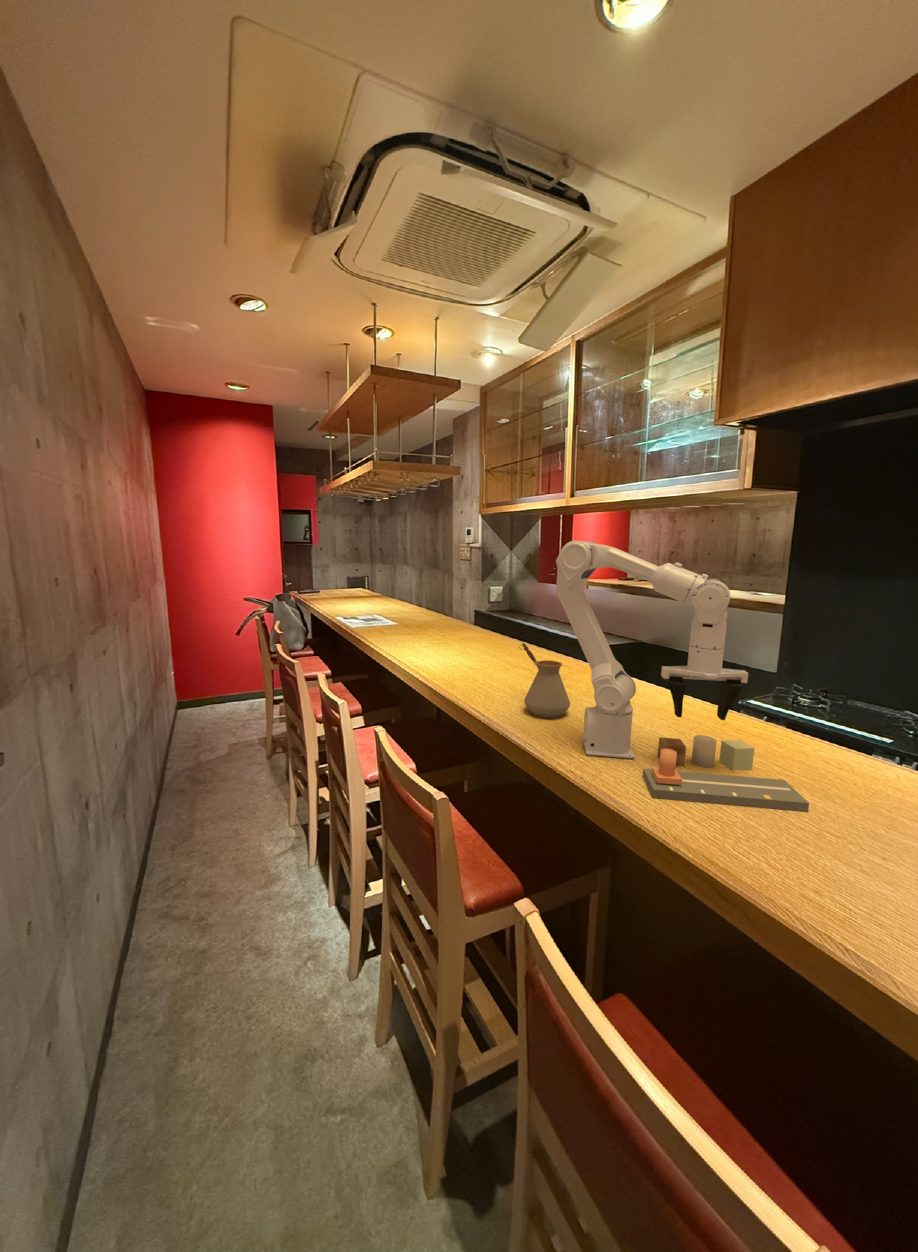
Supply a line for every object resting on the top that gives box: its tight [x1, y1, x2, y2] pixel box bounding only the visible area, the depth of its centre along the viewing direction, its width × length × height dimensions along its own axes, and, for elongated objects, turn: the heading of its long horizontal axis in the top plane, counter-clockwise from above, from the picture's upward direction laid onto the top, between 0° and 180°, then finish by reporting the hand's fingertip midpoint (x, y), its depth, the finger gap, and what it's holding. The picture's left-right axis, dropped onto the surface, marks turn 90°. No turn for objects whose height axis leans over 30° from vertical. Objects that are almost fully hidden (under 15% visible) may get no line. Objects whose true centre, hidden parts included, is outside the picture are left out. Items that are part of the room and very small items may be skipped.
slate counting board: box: [642, 767, 810, 813], centre depth 84 cm, size 24×8×2 cm, turn 81°
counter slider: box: [651, 749, 682, 785], centre depth 85 cm, size 4×4×5 cm
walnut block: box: [657, 737, 687, 767], centre depth 97 cm, size 4×4×4 cm
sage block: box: [718, 739, 755, 772], centre depth 95 cm, size 4×4×4 cm
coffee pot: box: [518, 642, 571, 719], centre depth 127 cm, size 21×12×15 cm, turn 18°
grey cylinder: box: [691, 734, 717, 769], centre depth 96 cm, size 4×4×5 cm
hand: (699, 716), depth 92 cm, fingers open, 7 cm apart
